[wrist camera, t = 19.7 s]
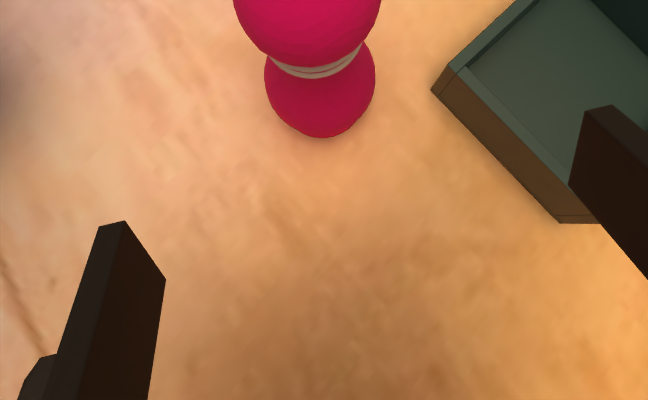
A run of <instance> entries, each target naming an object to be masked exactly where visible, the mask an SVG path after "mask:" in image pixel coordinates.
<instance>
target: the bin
mask: <svg viewBox="0 0 648 400" xmlns="http://www.w3.org/2000/svg"><path fill="white" fill-rule="evenodd" d="M430 90H431V91H432V92H433V93H434V94H435V95H436V96H437V97H438V98H439V100H440V101H441V102H442V103H443V104H444V105H445V106H446V107H447V108H448V109H449V110H450V111H451V112H452V113H453V114H454V115H455V116H456V117H457V118H458V119H459V120H460V121H461V122H462V123H463V124H464V125H465V126H466V127H467V128H468V129H469V130H470V131H471V132H472V133H473V135H474V136H475V137H476V138H477V139H478V140H479V141H480V142H481V143H482V144H483V145H484V146H485V147H486V148H487V149H488V150H489V151H490V152H491V153H492V154H493V155H494V156H495V157H496V158H497V159H498V160H499V161H500V162H501V163H502V164H503V165H504V166H505V167H506V168H507V170H508V171H509V172H510V173H511V174H512V175H513V176H514V177H515V178H516V179H517V180H518V181H519V182H520V183H521V184H522V185H523V186H524V187H525V188H526V189H527V190H528V191H529V192H530V193H531V194H532V195H533V196H534V197H535V198H536V199H537V200H538V201H539V202H540V203H541V205H542V206H543V207H544V208H545V209H546V210H547V211H548V212H549V213H550V214H551V215H552V216H553V217H554V218H555V219H556V220H557V221H558V222H559V223H560V224H563V223H567V224H600V223H599V222H598V221H597V219H596V218H595V217H594V216H593V215H592V214H591V212H590V211H589V210H588V209H587V208H586V206H585V205H584V204H583V203H582V202H581V201H580V199H579V198H578V197H577V196H576V195H575V193H574V192H573V191H572V190H571V189H570V188H569V186H568V181H569V176H570V172H571V168H572V163H573V159H574V155H575V150H576V146H577V142H578V137H579V133H580V129H581V124H582V120H583V116H584V112H585V111H586V110H590V109H594V108H598V107H602V106H607V105H611V104H613V105H614V106H615V107H616V108H618V109H619V110H620V111H621V112H622V113H624V114H625V115H626V116H627V117H629V118H630V119H631V120H632V121H633V122H635V123H636V124H637V125H638V126H639V127H641V128H642V129H643V130H644V131H646V132H647V133H648V0H516V1H515V2H514V3H513V4H512V5H510V6H509V7H508V8H507V9H506V10H505V11H504V12H503V13H502V14H501V15H500V16H499V17H498V18H497V19H495V20H494V21H493V22H492V23H491V24H490V25H489V26H488V27H487V28H486V29H485V30H484V31H483V32H482V33H480V34H479V35H478V36H477V37H476V38H475V39H474V40H473V41H472V42H471V43H470V44H469V45H468V46H467V47H465V48H464V49H463V50H462V51H461V52H460V53H459V54H458V55H457V56H456V57H455V58H454V59H453V60H452V61H450V62H449V63H448V64H447V66H446V67H445V69H444V70H443V72H442V73H441V75H440V76H439V78H438V79H437V80H436V82H435V83H434V85H433V86H432V88H431V89H430Z"/></svg>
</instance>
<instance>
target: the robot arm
mask: <svg viewBox="0 0 648 400" xmlns="http://www.w3.org/2000/svg"><path fill="white" fill-rule="evenodd" d="M568 186H569V188H570V189H571V190H572V191H573V192H574V193H575V195H576V196H577V197H578V198H579V199H580V201H581V202H582V203H583V204H584V205H585V206H586V208H587V209H588V210H589V211H590V212H591V214H592V215H593V216H594V217H595V218H596V219H597V221H598V222H599V223H600V224H601V225H602V227H603V228H604V229H605V230H606V231H607V232H608V234H609V235H610V236H611V237H612V238H613V239H614V241H615V242H616V243H617V244H618V245H619V247H620V248H621V249H622V250H623V251H624V252H625V254H626V255H627V256H628V257H629V258H630V260H631V261H632V262H633V263H634V264H635V265H636V267H637V268H638V269H639V270H640V271H641V273H642V274H643V275H644V276H645V277H646V278H647V280H648V133H647V132H646V131H644V130H643V129H642V128H641V127H639V126H638V125H637V124H636V123H635V122H633V121H632V120H631V119H630V118H629V117H627V116H626V115H625V114H624V113H622V112H621V111H620V110H619V109H618V108H616V107H615V106H614V105H613V104H611V105H607V106H602V107H598V108H594V109H590V110H586V111H585V112H584V116H583V120H582V124H581V129H580V133H579V137H578V142H577V146H576V150H575V155H574V159H573V163H572V168H571V172H570V176H569V181H568ZM165 283H166V278H165V277H164V276H163V274H162V273H161V271H160V270H159V268H158V267H157V266H156V264H155V263H154V261H153V260H152V258H151V257H150V256H149V254H148V253H147V251H146V250H145V248H144V247H143V246H142V244H141V243H140V241H139V240H138V238H137V237H136V236H135V234H134V233H133V231H132V230H131V228H130V227H129V225H128V224H127V223H126V221H125V220H124V221H120V222H116V223H112V224H108V225H103V226H99V228H98V231H97V234H96V237H95V240H94V243H93V246H92V249H91V252H90V255H89V258H88V261H87V264H86V267H85V270H84V273H83V276H82V279H81V282H80V285H79V288H78V291H77V294H76V297H75V300H74V303H73V306H72V309H71V312H70V315H69V318H68V321H67V324H66V327H65V330H64V333H63V336H62V339H61V342H60V345H59V348H58V351H57V354H54V355H49V356H45V357H41V358H40V359H39V360H38V362H37V363H36V364H35V366H34V367H33V369H32V370H31V371H30V373H29V374H28V376H27V377H26V378H25V380H24V382H23V385H22V388H21V391H20V393H19V396H18V399H17V400H147V399H148V392H149V386H150V379H151V373H152V366H153V360H154V354H155V347H156V341H157V334H158V328H159V322H160V315H161V309H162V302H163V296H164V289H165Z"/></svg>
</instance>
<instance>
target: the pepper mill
mask: <svg viewBox="0 0 648 400" xmlns="http://www.w3.org/2000/svg"><path fill="white" fill-rule="evenodd" d="M233 3H234V8H235V11H236V14H237V17H238V20H239V22H240V24H241V26H242V27H243V29H244V31H245V33H246V34H247V35H248V37H249V38H250V39H251V40H252V42H253V43H254V44H255V45H256V46H257V47H258V48H259V50H261V51H262V52H264V53H265V54H267V55H268V56H267V60H266V64H265V69H264V81H265V87H266V91H267V95H268V98H269V101H270V103H271V105H272V107H273V109H274V110H275V112H276V113H277V114H278V116H279V117H280V118H281V119H282V120H283V121H285V122H286V123H287V124H289V125H290V126H291V127H293V128H295V129H297V130H298V131H300V132H302V133H304V134H306V135H308V136H312V137H317V138H328V137H333V136H336V135H338V134H341V133H343V132H344V131H346V130H347V129H349V128H350V127H351V126H352V125H353V124H354V123H355V122H356V120H357V119H358V118H360V117H361V116H362V114H363V113H364V112H365V110H366V109H367V107H368V105H369V103H370V102H371V99H372V96H373V93H374V87H375V66H374V62H373V58H372V55H371V53H370V51H369V48H368V47H367V45H366V44H365V43H364V40H365V38H366V37H367V35H368V34H369V32H370V30H371V29H372V27H373V26H374V23H375V20H376V18H377V15H378V12H379V8H380V4H381V0H233Z"/></svg>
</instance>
